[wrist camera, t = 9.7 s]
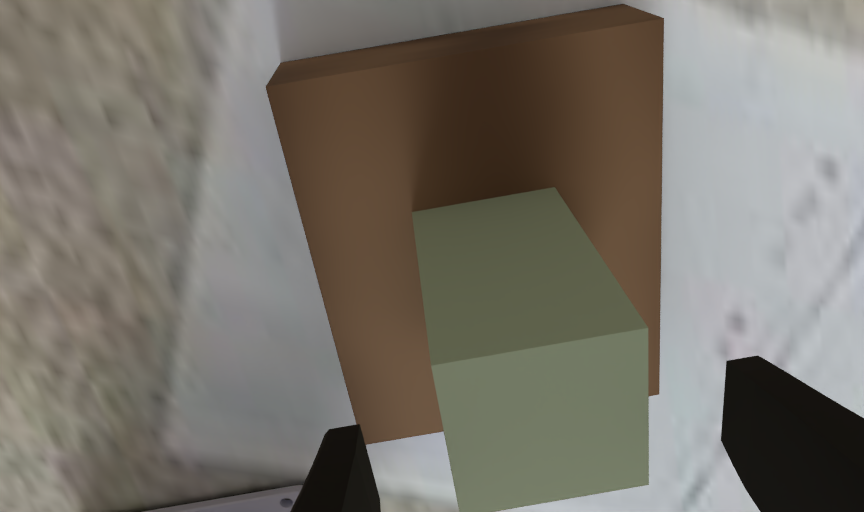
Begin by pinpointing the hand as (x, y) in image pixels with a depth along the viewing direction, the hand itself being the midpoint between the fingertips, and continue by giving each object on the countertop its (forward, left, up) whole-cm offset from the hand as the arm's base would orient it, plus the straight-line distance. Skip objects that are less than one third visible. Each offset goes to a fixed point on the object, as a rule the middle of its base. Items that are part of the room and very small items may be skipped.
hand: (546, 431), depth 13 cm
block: (0, 0, -7) cm, 7 cm away
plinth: (0, 0, -10) cm, 10 cm away
